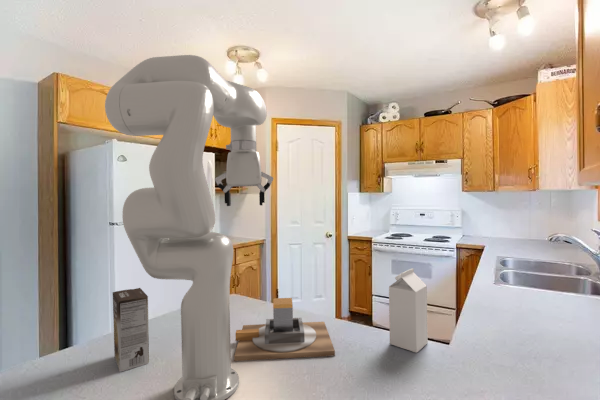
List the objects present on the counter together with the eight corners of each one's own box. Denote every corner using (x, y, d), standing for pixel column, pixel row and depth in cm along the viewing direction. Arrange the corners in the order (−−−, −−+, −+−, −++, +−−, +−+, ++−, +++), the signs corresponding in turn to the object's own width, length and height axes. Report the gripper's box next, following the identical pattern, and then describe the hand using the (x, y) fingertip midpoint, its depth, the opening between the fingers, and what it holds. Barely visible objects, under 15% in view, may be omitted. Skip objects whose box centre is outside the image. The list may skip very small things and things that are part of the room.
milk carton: (427, 343, 81) (426, 270, 81) (416, 353, 76) (415, 275, 76) (401, 335, 86) (400, 266, 86) (389, 344, 80) (388, 271, 80)
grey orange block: (293, 338, 81) (292, 303, 81) (273, 339, 81) (273, 304, 81) (292, 330, 86) (291, 297, 86) (274, 331, 86) (273, 298, 86)
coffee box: (113, 357, 77) (111, 291, 77) (142, 349, 81) (140, 286, 81) (118, 373, 70) (117, 301, 69) (150, 363, 73) (148, 295, 73)
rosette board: (334, 355, 75) (334, 338, 75) (231, 361, 74) (230, 343, 74) (324, 325, 93) (324, 311, 93) (240, 329, 92) (240, 315, 92)
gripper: (211, 146, 89) (213, 206, 89) (272, 146, 90) (273, 205, 90) (217, 150, 97) (218, 206, 97) (273, 150, 98) (274, 204, 98)
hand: (244, 205), depth 94 cm, fingers open, 9 cm apart
